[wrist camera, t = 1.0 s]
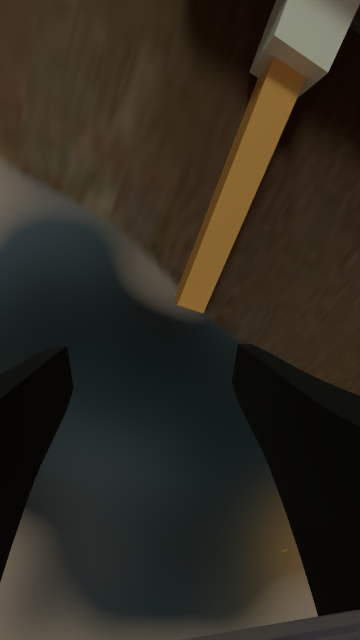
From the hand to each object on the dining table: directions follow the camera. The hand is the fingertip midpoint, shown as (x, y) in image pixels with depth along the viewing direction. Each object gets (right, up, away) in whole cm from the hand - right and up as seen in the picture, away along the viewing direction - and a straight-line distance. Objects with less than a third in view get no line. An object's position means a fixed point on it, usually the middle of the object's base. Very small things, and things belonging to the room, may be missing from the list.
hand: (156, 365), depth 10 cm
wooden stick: (+5, +11, +6) cm, 13 cm away
